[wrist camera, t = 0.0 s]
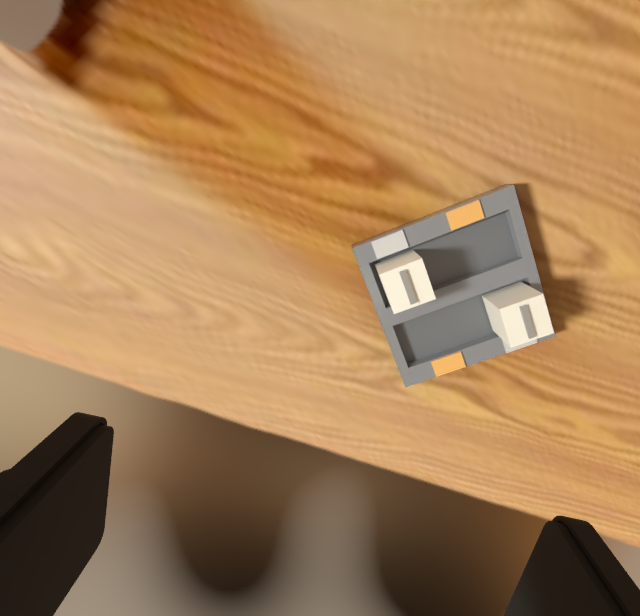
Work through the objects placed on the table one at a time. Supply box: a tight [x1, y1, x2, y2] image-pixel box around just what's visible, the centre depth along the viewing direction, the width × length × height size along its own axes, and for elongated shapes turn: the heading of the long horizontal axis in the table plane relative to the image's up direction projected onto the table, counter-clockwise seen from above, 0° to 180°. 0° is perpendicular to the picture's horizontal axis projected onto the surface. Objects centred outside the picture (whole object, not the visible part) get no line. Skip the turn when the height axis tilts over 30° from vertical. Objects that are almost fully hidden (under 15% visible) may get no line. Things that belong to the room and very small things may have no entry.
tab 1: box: [482, 282, 554, 348], centre depth 42 cm, size 4×4×5 cm
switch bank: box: [352, 185, 555, 387], centre depth 44 cm, size 16×16×2 cm
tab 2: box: [375, 250, 436, 314], centre depth 42 cm, size 4×4×5 cm
